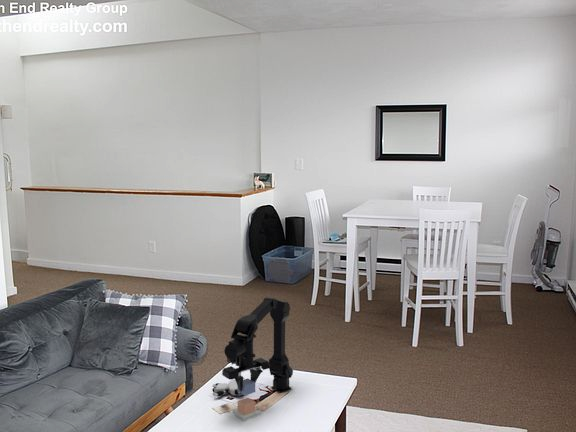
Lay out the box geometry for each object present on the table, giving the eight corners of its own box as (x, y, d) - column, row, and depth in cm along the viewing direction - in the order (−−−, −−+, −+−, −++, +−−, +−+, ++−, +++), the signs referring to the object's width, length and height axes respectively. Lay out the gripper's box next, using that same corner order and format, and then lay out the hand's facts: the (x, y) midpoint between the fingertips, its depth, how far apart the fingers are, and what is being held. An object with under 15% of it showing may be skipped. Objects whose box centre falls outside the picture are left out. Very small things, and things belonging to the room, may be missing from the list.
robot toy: (213, 403, 238) (249, 397, 241) (212, 392, 238) (248, 387, 240) (212, 390, 250) (246, 385, 253) (211, 380, 250) (245, 375, 252)
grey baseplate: (249, 407, 232) (249, 404, 232) (260, 414, 226) (260, 411, 226) (232, 412, 228) (232, 410, 227) (243, 420, 221) (243, 417, 221)
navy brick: (247, 387, 229) (247, 378, 229) (255, 392, 225) (255, 382, 225) (237, 391, 226) (237, 381, 225) (245, 395, 222) (244, 385, 222)
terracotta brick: (248, 406, 230) (248, 397, 230) (255, 411, 226) (255, 401, 226) (237, 410, 227) (237, 400, 227) (244, 415, 223) (244, 405, 223)
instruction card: (231, 402, 237) (231, 401, 236) (239, 407, 232) (239, 407, 232) (212, 408, 231) (212, 407, 231) (219, 414, 226) (219, 413, 226)
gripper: (254, 340, 235) (254, 376, 238) (214, 350, 224) (215, 388, 226) (270, 348, 227) (270, 385, 229) (229, 359, 215) (230, 398, 217)
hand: (246, 389), depth 226 cm, fingers closed on navy brick, 5 cm apart
